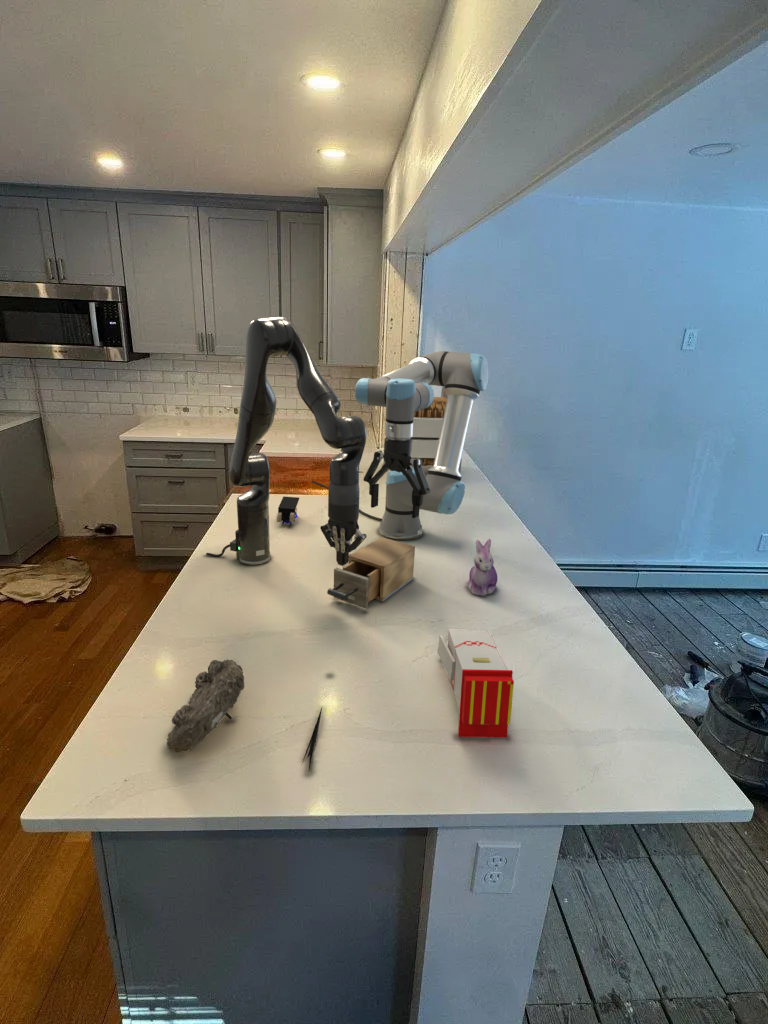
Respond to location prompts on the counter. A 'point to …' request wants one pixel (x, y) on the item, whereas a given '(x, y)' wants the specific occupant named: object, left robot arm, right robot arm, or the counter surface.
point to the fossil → (206, 705)
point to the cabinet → (388, 563)
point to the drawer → (356, 583)
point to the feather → (313, 740)
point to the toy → (478, 682)
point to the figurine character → (287, 510)
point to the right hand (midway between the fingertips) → (394, 511)
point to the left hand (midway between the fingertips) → (342, 564)
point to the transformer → (428, 430)
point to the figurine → (483, 571)
